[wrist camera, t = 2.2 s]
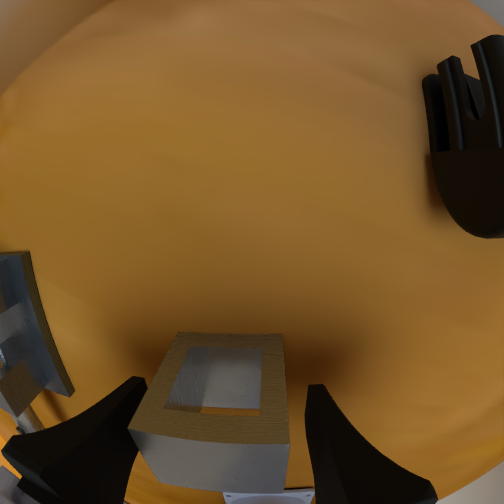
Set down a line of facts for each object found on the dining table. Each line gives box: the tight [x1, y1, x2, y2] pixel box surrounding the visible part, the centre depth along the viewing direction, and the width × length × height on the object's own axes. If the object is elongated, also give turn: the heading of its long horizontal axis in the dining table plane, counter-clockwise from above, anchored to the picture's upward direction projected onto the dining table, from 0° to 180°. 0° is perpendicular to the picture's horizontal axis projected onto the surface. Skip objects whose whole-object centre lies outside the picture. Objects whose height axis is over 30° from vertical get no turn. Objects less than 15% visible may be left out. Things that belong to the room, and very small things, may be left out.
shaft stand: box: [0, 252, 75, 435], centre depth 12 cm, size 16×8×5 cm, turn 2°
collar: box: [128, 332, 290, 494], centre depth 10 cm, size 4×5×6 cm
